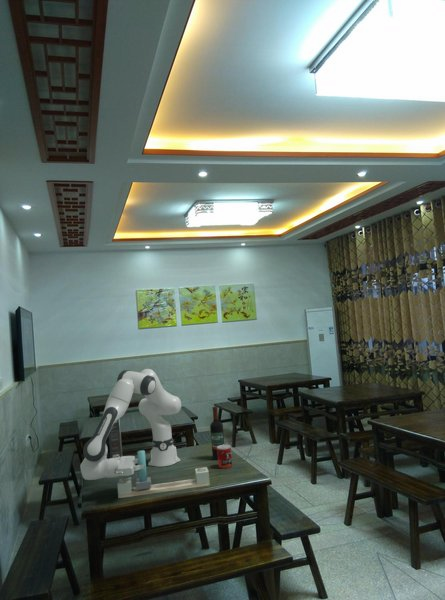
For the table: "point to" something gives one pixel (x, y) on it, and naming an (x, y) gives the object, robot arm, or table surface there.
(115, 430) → the cake mix box
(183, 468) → the table surface
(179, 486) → the rail board
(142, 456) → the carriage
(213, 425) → the wine bottle
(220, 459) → the canned food
